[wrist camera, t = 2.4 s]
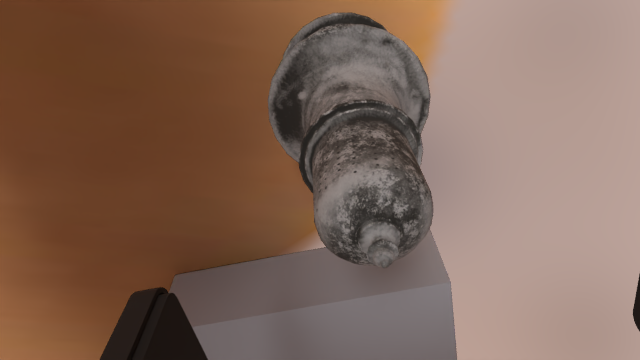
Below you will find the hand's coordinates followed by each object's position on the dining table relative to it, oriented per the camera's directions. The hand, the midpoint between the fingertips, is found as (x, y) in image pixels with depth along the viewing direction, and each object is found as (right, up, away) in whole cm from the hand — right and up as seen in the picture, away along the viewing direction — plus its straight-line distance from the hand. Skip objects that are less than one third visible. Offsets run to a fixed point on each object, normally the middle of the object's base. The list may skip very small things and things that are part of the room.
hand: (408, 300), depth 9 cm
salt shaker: (-1, +7, +11) cm, 13 cm away
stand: (-1, -7, +19) cm, 20 cm away
